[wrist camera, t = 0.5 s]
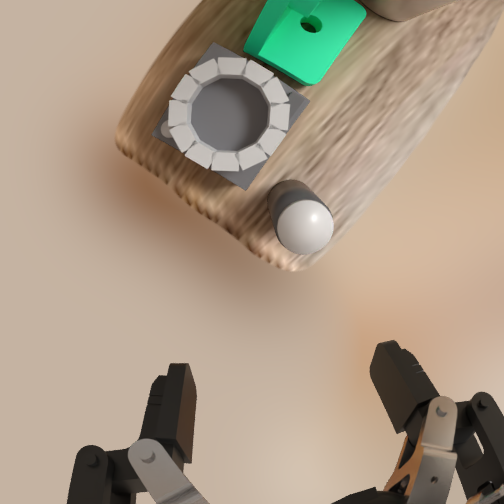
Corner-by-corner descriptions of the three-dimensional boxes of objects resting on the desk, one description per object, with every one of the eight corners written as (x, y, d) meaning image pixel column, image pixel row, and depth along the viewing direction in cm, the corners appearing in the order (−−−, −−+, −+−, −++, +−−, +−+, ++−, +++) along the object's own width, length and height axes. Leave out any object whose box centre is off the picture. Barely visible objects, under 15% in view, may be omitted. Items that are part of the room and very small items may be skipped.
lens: (302, 172, 27) (323, 189, 21) (319, 212, 30) (342, 241, 23) (259, 192, 28) (265, 215, 22) (279, 231, 30) (290, 265, 24)
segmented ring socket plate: (217, 52, 21) (210, 35, 16) (300, 104, 24) (316, 99, 19) (163, 133, 25) (143, 136, 20) (245, 181, 28) (246, 196, 22)
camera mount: (308, 91, 24) (343, 76, 15) (243, 54, 22) (244, 18, 13) (360, 18, 19) (406, -13, 10) (300, -18, 17) (325, -65, 8)
